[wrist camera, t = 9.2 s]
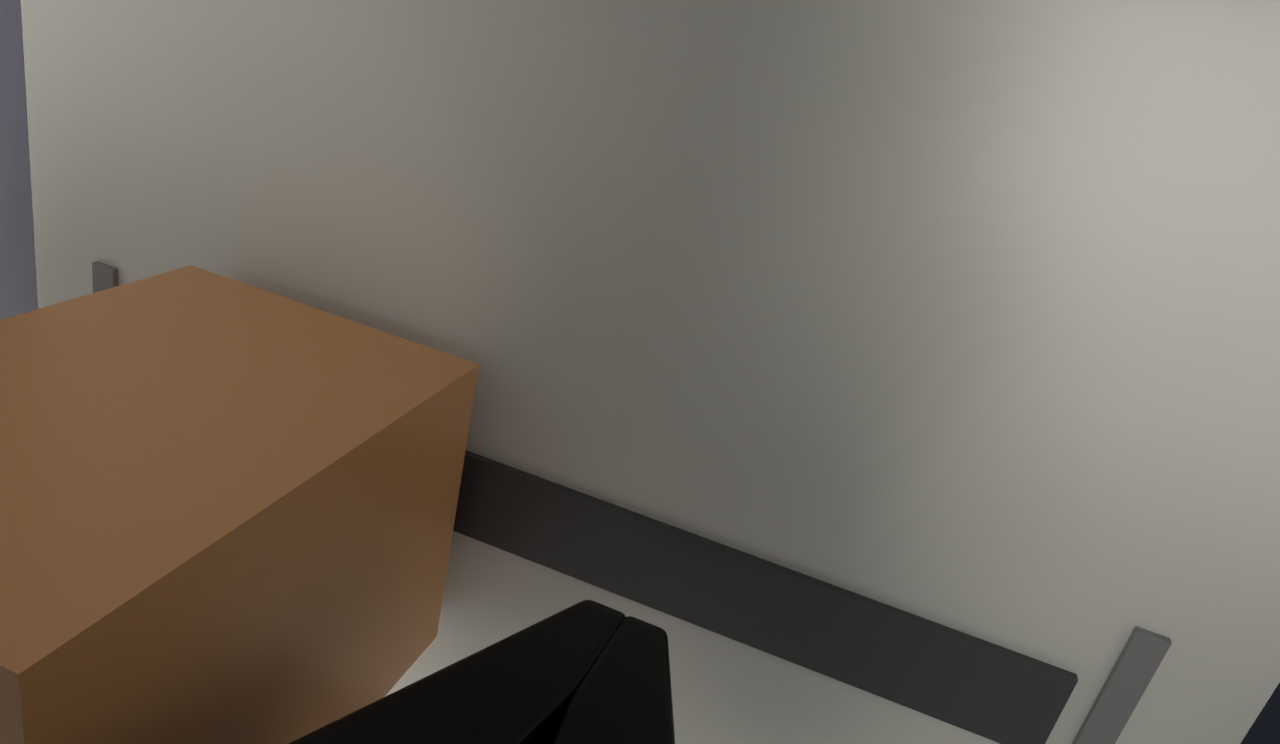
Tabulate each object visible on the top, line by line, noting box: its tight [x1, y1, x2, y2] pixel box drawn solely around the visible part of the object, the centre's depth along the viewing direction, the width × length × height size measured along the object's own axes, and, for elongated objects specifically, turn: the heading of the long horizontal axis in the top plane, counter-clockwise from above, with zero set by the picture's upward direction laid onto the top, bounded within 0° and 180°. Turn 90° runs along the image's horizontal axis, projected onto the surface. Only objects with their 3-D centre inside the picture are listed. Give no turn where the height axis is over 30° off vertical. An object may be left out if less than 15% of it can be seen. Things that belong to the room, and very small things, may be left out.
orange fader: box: [0, 265, 479, 744], centre depth 8 cm, size 4×4×5 cm
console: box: [21, 0, 1280, 744], centre depth 9 cm, size 16×14×2 cm
